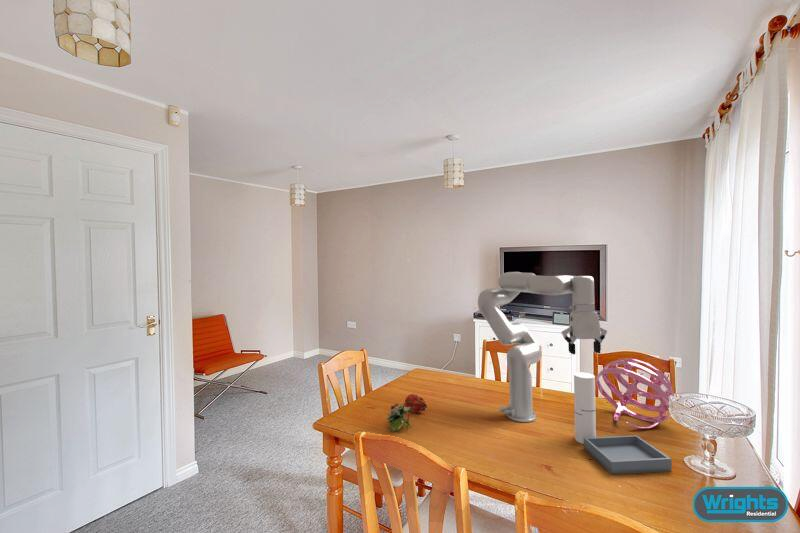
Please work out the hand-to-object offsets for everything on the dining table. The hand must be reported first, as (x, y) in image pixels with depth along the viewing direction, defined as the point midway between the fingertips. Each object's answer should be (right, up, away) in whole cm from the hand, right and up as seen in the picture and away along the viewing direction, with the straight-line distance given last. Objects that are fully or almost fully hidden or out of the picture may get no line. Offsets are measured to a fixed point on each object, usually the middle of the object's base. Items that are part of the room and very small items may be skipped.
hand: (584, 353), depth 137 cm
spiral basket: (+30, -33, +15) cm, 47 cm away
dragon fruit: (-63, -35, +30) cm, 78 cm away
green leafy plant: (-70, -35, +15) cm, 80 cm away
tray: (+7, -34, -13) cm, 37 cm away
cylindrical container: (+1, -34, +1) cm, 34 cm away
